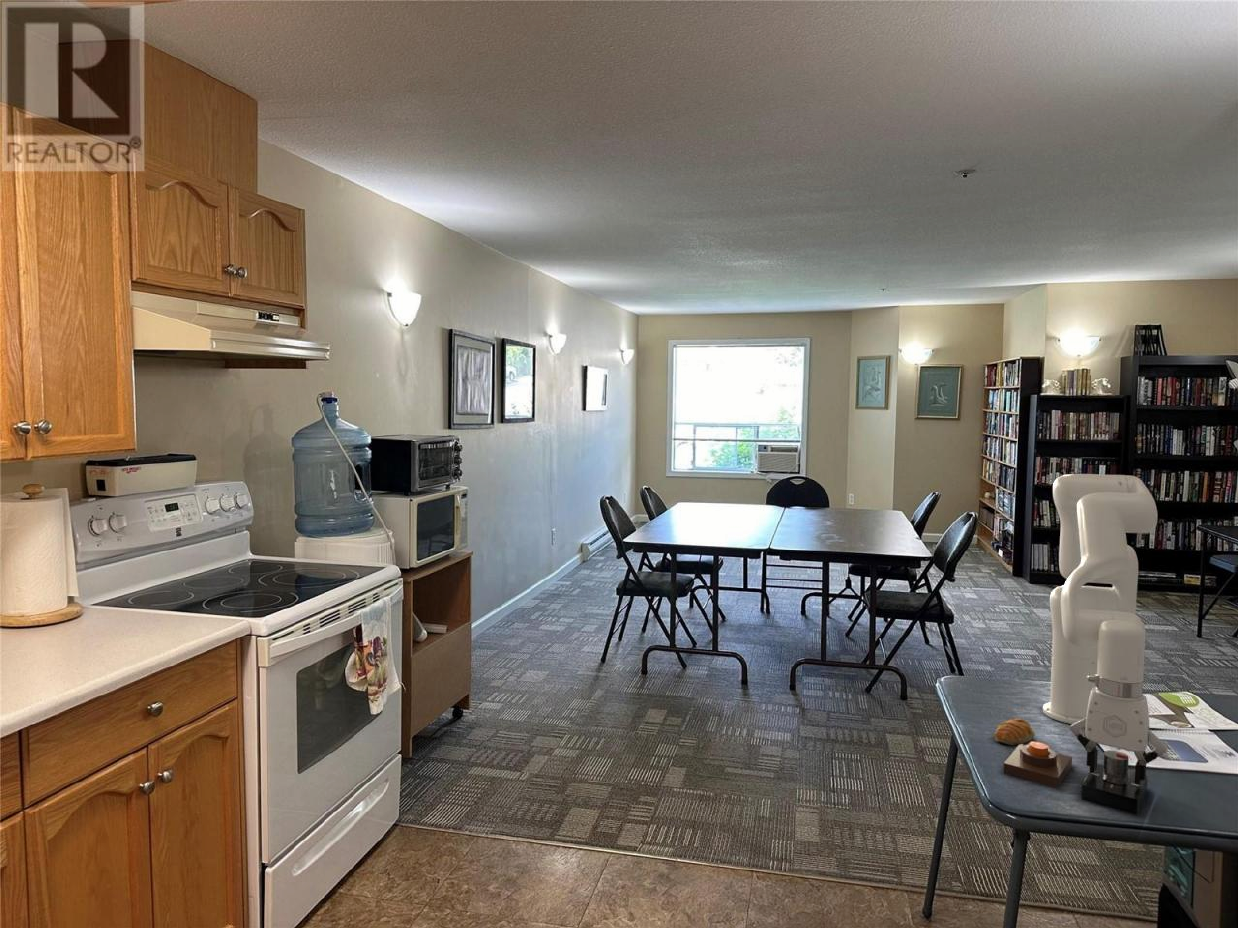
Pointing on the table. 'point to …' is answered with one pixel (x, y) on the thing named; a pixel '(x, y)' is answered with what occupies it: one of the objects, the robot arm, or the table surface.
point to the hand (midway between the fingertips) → (1115, 775)
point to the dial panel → (1114, 791)
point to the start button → (1038, 748)
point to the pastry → (1014, 732)
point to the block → (1038, 766)
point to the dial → (1115, 767)
